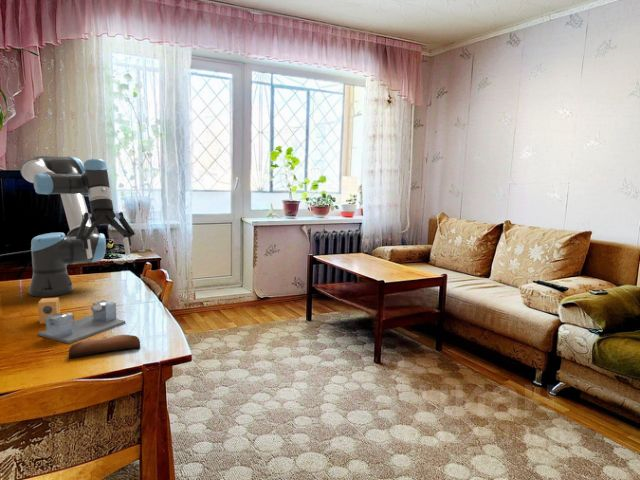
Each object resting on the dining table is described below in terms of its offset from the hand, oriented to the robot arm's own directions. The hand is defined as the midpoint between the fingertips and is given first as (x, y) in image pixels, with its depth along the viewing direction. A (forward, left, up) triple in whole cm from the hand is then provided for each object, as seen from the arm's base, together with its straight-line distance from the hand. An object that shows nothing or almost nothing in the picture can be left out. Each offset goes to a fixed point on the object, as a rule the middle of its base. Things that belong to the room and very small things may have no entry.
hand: (109, 256), depth 165 cm
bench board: (+13, -22, -18) cm, 32 cm away
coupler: (-3, -22, -18) cm, 29 cm away
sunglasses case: (+32, -30, -19) cm, 48 cm away
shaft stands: (+13, -22, -18) cm, 32 cm away
